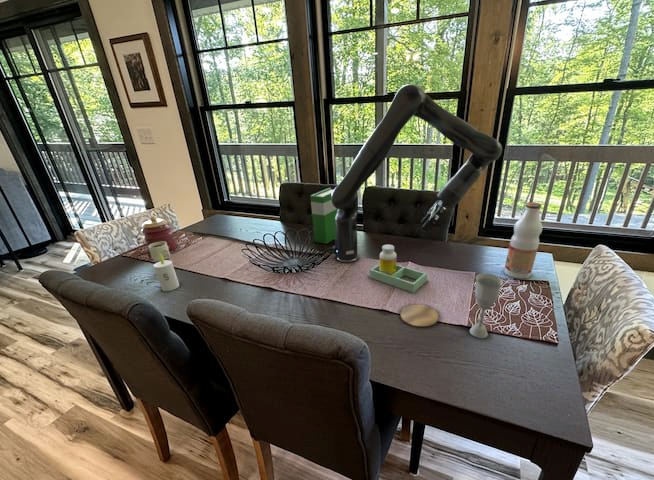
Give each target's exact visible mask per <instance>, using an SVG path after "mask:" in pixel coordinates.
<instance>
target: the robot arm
mask: <svg viewBox="0 0 654 480" xmlns="http://www.w3.org/2000/svg"><path fill="white" fill-rule="evenodd" d="M412 117H416V118H418V119H420V120H423V121H425V122H426V123H427V124H429V125H430V126H432V128H434V129H435V130H437V132H439V133H440V134H441V135H442V136H444V138H446V139H447V140H449V141H450V142H452V143H453V144H455V145H456V146H458V147H460V148H461V149H464V150H467V151H469V152H470V153H471V155H470V156H469V157H468V159H467V160H466V161H465V163H464V164H463V165H462V166H461V167H460V168H459V170H458V171H457V172H456V173H455V174H454V175H453V176H452V177H451V178H449V180H448V181H447V183H445V185H443V187H442V188H441V189H440V191H439V192H438V193H437V194H436V197H437V198H438V199H439V200H436V201H435V202H434V204H433V205H432V206H431V207H430V208H429V210H427V213H426V215H425V216H424V217H423V218H422V220H421V221H420V224H421V229H422V230H423V231H425V232H427V231H429V229H430V228H431V227H432V226H433V225H434V224H437V223H438V222H439V220H441V218H442V217H443V216H444V215H445V213H447V212H448V209H447V208H448V207H449V208H451V209H454V208H455V207H456V206H457V205H458V204H459V202H460V201H461V200H463V198H464V197H465V196H466V194H467V193H468V192H469V191H470V189H471V188H472V187H473V185H475V184H476V182H477V181H478V180H479V179H480V177H481V176H482V173H483V171H484V170H485V169H486V168H487V167H488V166H489V165H490V163H493V162H495V161H497V160H498V159H499V158H500V157H501V155H502V152H503V146H502V144H501V143H500V142H499V141H498V140H497V139H496V138H494V137H492V136H490V135H488V134H487V133H485V132H482V131H480V130H478V129H477V128H475V127H474V126H473V125H471V124H470V123H468V121H465V120H464V119H462V118H460V117H458V116H457V115H455V114H453V113H452V112H451V111H449V110H447V109H445V108H444V107H442V106H441V105H440V104H439V103H437V102H436V101H434V100H433V99H432V98H431V97H430V96H429V95H428V94H427V93H426V92H425V91H424V90H423V88H422V87H421V86H420V85H418V84H415V83H408V84H404V85H402V86H401V87H400V88H399V89H398V90H397V92H396V94H395V96H394V98H393V99H392V101H391V103H390V104H389V107H388V109H387V111H386V112H385V114H384V116H383V118H382V119H381V120H380V122H379V123H378V125H377V126H376V127H375V128H374V130H373V131H372V133H371V134H370V136H369V137H368V138H367V139H366V141H365V142H364V144H363V146H362V147H361V149H360V150H359V152H358V154H357V155H356V156H355V158H354V160H353V162H352V164H351V165H350V167H349V169H348V171H347V173H346V174H345V175H344V177H343V178H342V180H340V182H339V183H338V184H337V185H336V186H335V188H334V189H332V190H333V192H332V195H331V202H332V204H333V206H334V207H335V208H337V209H338V211H337V214H336V216H335V225H336V238H335V239H334V245H332V246H331V247H328V248H326V249H325V250H324V251H322V252H309V251H300V250H295V249H287V248H286V249H285V248H280V247H276V246H275V247H274V246H270V245H265V244H261V243H256V242H251V241H249V240H248V241H247V240H243V239H240V238H239V239H238V238H235V237H231V236H226V235H220V234H214V233H208V232H198V231H192V234H194V235H204V236H212V237H217V238H223V239H228V240H233V241H237V242H241V243H246V244H248V245H249V244H250V245H253V246H258V247H261V248H267V249H270V250H271V249H272V250H277V251H283V252H287V253H294V254H295V253H296V254H301V255H311V256H321V255H324V254H326V253H327V252H328V251H330V252H331V253H332V254H335V259H337V261H339V262H341V263H352V262H355V261H357V260H358V258H359V255H358V222H357V221H358V220H357V219H358V215H359V193H358V191H359V189H360V188H361V187H362V185H363V184H364V183H365V182H366V181H367V180H368V179H369V178H371V176H372V175H373V174H374V173H375V172H376V171H377V170H378V169H379V168H380V166H381V165H382V164H383V162H384V161H385V159H386V158H387V156H388V155H389V153H390V152H391V150H392V148H393V146H394V143H395V142H396V140H397V138H398V136H399V134H400V132H401V131H402V130H403V128H404V127H405V126H406V125H407V123H408V122H409V121H410V120H411V119H412Z"/></svg>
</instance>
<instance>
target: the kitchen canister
mask: <svg viewBox="0 0 654 480" xmlns="http://www.w3.org/2000/svg"><path fill="white" fill-rule="evenodd" d="M141 227H142V229H141V231H140V232H142V233H143V239H144V241H145V244H146V246H147V250H148V252H149V253H150V251H149V248H148V246H149V245H150V244H152V243H156V242H166V243H167V246H168V249H169V252H170V253H171V252H172V251H174V250H175V249H177V242H176V240H175V237H174V234H173V230H172V229H171V224H170V223H168V220H166V219H164V218H157V217H156V216H150V218H149V219H148V220H146V221H144V222H143V223H142V224H141Z"/></svg>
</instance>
